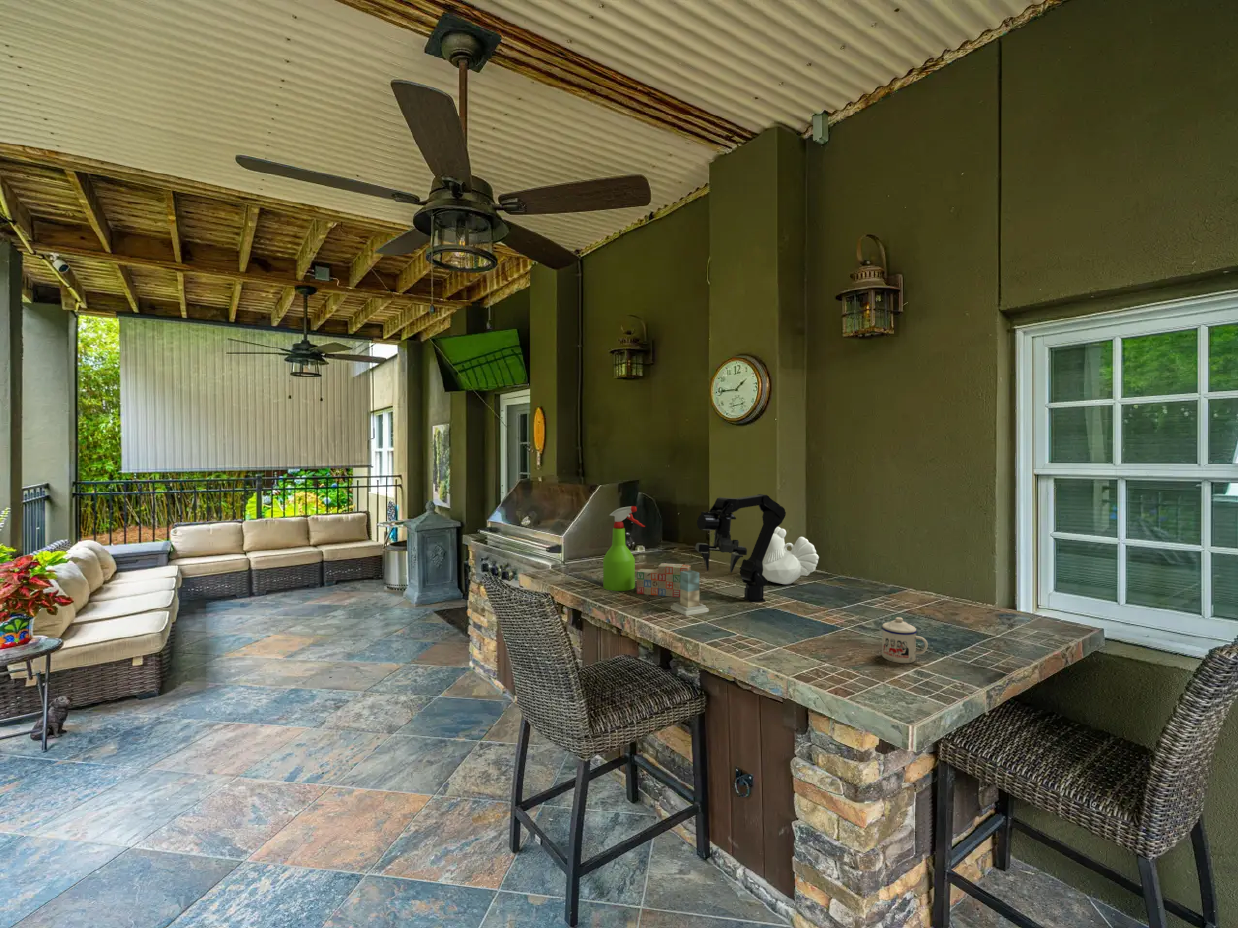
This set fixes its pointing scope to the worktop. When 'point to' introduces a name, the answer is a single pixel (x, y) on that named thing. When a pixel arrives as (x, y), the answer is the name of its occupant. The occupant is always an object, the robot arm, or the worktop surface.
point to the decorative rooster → (788, 559)
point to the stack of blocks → (661, 580)
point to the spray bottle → (620, 555)
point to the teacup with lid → (900, 641)
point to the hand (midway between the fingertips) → (719, 571)
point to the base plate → (689, 609)
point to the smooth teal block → (689, 588)
